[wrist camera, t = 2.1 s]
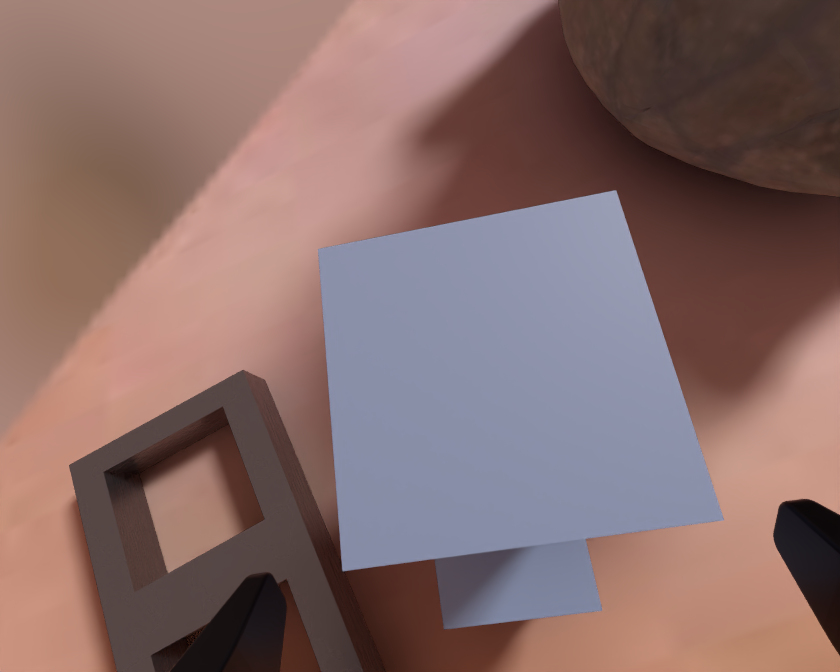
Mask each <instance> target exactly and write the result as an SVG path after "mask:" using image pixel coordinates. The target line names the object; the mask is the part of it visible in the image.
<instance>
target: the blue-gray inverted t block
mask: <svg viewBox="0 0 840 672" xmlns="http://www.w3.org/2000/svg"><path fill="white" fill-rule="evenodd" d="M318 256H319V269H320V282H321V295H322V308H323V321H324V335H325V348H326V361H327V374H328V387H329V401H330V414H331V427H332V440H333V453H334V466H335V480H336V493H337V506H338V519H339V532H340V546H341V559H342V571H348V570H356V569H363V568H371V567H378V566H386V565H393V564H400V563H408V562H415V561H423V560H430V559H435V567H436V574H437V582H438V589H439V596H440V604H441V611H442V619H443V626H444V630H445V629H453V628H462V627H470V626H478V625H487V624H495V623H503V622H512V621H520V620H528V619H537V618H545V617H553V616H562V615H570V614H578V613H587V612H595V611H602V607H601V603H600V599H599V594H598V590H597V586H596V581H595V577H594V573H593V569H592V564H591V560H590V556H589V552H588V547H587V543H586V539H587V538H595V537H602V536H610V535H617V534H625V533H632V532H640V531H647V530H655V529H662V528H670V527H677V526H685V525H692V524H699V523H707V522H714V521H722V520H724V518H723V515H722V512H721V509H720V506H719V503H718V500H717V497H716V494H715V491H714V488H713V485H712V482H711V479H710V476H709V473H708V470H707V466H706V463H705V460H704V457H703V454H702V451H701V448H700V445H699V442H698V439H697V436H696V433H695V430H694V427H693V424H692V421H691V418H690V415H689V411H688V408H687V405H686V402H685V399H684V396H683V393H682V390H681V387H680V384H679V381H678V378H677V375H676V372H675V369H674V366H673V363H672V360H671V356H670V353H669V350H668V347H667V344H666V341H665V338H664V335H663V332H662V329H661V326H660V323H659V320H658V317H657V314H656V311H655V308H654V304H653V301H652V298H651V295H650V292H649V289H648V286H647V283H646V280H645V277H644V274H643V271H642V268H641V265H640V262H639V259H638V256H637V253H636V249H635V246H634V243H633V240H632V237H631V234H630V231H629V228H628V225H627V222H626V219H625V216H624V213H623V210H622V207H621V204H620V201H619V198H618V194H617V191H616V190H614V191H609V192H604V193H599V194H594V195H589V196H584V197H579V198H574V199H569V200H564V201H559V202H554V203H548V204H543V205H538V206H533V207H528V208H523V209H518V210H513V211H508V212H503V213H498V214H493V215H488V216H483V217H478V218H473V219H467V220H462V221H457V222H452V223H447V224H442V225H437V226H432V227H427V228H422V229H417V230H412V231H407V232H402V233H397V234H392V235H386V236H381V237H376V238H371V239H366V240H361V241H356V242H351V243H346V244H341V245H336V246H331V247H326V248H321V249H318Z"/></svg>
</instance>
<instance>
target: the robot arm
mask: <svg viewBox="0 0 840 672" xmlns="http://www.w3.org/2000/svg"><path fill="white" fill-rule="evenodd" d="M773 537H774V542H775V545H776V548H777V550H778V551H779V553H780V555H781V557H782V558H783V560H784V562H785V564H786V565H787V567H788V569H789V571H790V572H791V574H792V576H793V578H794V579H795V581H796V583H797V585H798V586H799V588H800V590H801V592H802V593H803V595H804V597H805V599H806V600H807V602H808V604H809V606H810V607H811V609H812V611H813V612H814V614H815V616H816V618H817V619H818V621H819V623H820V625H821V626H822V628H823V630H824V631H825V633H826V635H827V636H828V638H829V640H830V641H831V643H832V645H833V646H834V648H835V649H836V651H837V652H838V654H839V655H840V515H839V514H837V513H835V512H833V511H832V510H830V509H828V508H826V507H824V506H822V505H821V504H819V503H817V502H815V501H812V500H809V499H799V500H792V501H785V502H783V503H781V504H780V506H779V509H778V514H777V518H776V523H775V528H774V533H773ZM286 611H287V606H286V600H285V597H284V595H283V593H282V591H281V589H280V587H279V586H278V584H277V582H276V580H275V578H274V576H273V575H272V574H271V573H269V572H263V573H256V574H251V575H249V576H247V577H246V578H245V579H244V580H243V581H242V583H241V584H240V585H239V586H238V588H237V589H236V590H235V591H234V592H233V594H232V595H231V596H230V597H229V599H228V600H227V601H226V602H225V604H224V605H223V606H222V607H221V608H220V610H219V611H218V612H217V613H216V615H215V616H214V617H213V618H212V620H211V621H210V622H209V623H208V624H207V626H206V627H205V628H204V629H203V631H202V632H201V633H200V634H199V636H198V637H197V638H196V639H195V641H194V642H193V643H192V644H191V645H190V647H189V648H188V649H187V650H186V652H185V653H184V654H183V655H182V657H181V658H180V659H179V660H178V661H177V663H176V664H175V665H174V666H173V668H172V669H171V670H170V671H169V672H280V664H281V656H282V647H283V638H284V629H285V621H286Z"/></svg>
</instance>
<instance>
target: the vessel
mask: <svg viewBox="0 0 840 672" xmlns="http://www.w3.org/2000/svg"><path fill="white" fill-rule="evenodd" d="M558 4H559V10H560V16H561V22H562V29H563V35H564V38H565V41H566V44H567V47H568V49H569V52H570V55H571V57H572V60H573V62H574V64H575V66H576V67H577V69H578V71H579V72H580V74H581V76H582V77H583V79H584V81H585V82H586V84H587V86H588V87H589V88H590V89H591V90H592V91H593V92H594V93H595V95H596V96H597V98H598V99H599V101H600V102H601V104H602V105H603V106H604V107H605V108H606V109H607V110H608V111H609V112H610V113H611V114H612V115H613V116H614V117H615V118H616V119H617V120H618V121H619V122H620V123H621V124H622V125H623V126H624V127H625V128H626V129H627V130H629V131H630V132H631V133H632V134H633V135H634V136H635V137H636V138H638V139H639V140H641V141H642V142H644V143H645V144H647V145H649V146H651V147H653V148H655V149H657V150H660V151H662V152H664V153H666V154H668V155H671V156H673V157H675V158H677V159H679V160H681V161H684V162H686V163H688V164H691V165H693V166H696V167H699V168H702V169H705V170H708V171H711V172H715V173H718V174H721V175H725V176H728V177H731V178H734V179H738V180H741V181H744V182H747V183H750V184H754V185H757V186H760V187H766V188H772V189H778V190H784V191H789V192H798V193H808V194H819V195H830V196H838V197H840V0H558Z"/></svg>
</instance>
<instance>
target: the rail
mask: <svg viewBox="0 0 840 672" xmlns="http://www.w3.org/2000/svg"><path fill="white" fill-rule="evenodd" d="M227 424H230V427H231V430H232V432H233V435H234V438H235V441H236V443H237V446H238V449H239V451H240V454H241V457H242V459H243V462H244V465H245V468H246V470H247V473H248V476H249V478H250V481H251V484H252V486H253V489H254V492H255V494H256V497H257V500H258V503H259V505H260V508H261V511H262V513H263V516H264V519H265V520H263V521H261V522H259V523H257V524H256V525H254V526H252V527H250V528H249V529H247V530H245V531H243V532H241V533H240V534H238V535H236V536H234V537H232V538H231V539H229V540H227V541H225V542H224V543H222V544H220V545H218V546H216V547H215V548H213V549H211V550H209V551H207V552H206V553H204V554H202V555H200V556H198V557H197V558H195V559H193V560H191V561H190V562H188V563H186V564H184V565H182V566H181V567H179V568H177V569H175V570H173V571H172V572H170V573H167V570H166V566H165V563H164V559H163V556H162V552H161V549H160V546H159V542H158V539H157V535H156V532H155V528H154V525H153V521H152V518H151V514H150V511H149V507H148V504H147V500H146V497H145V493H144V490H143V486H142V483H141V479H140V476H139V473H140V472H142V471H144V470H145V469H147V468H149V467H151V466H153V465H155V464H156V463H158V462H160V461H162V460H164V459H165V458H167V457H169V456H171V455H173V454H174V453H176V452H178V451H180V450H182V449H184V448H185V447H187V446H189V445H191V444H193V443H194V442H196V441H198V440H200V439H202V438H203V437H205V436H207V435H209V434H211V433H213V432H214V431H216V430H218V429H220V428H222V427H223V426H225V425H227ZM69 467H70V472H71V476H72V480H73V485H74V489H75V493H76V497H77V502H78V506H79V510H80V515H81V519H82V523H83V527H84V532H85V536H86V540H87V545H88V549H89V553H90V557H91V562H92V566H93V570H94V575H95V579H96V583H97V588H98V592H99V596H100V600H101V605H102V609H103V613H104V618H105V622H106V626H107V630H108V635H109V639H110V643H111V648H112V652H113V656H114V660H115V665H116V669H117V672H169V671H170V670H171V669H172V668H173V666H174V665H175V664H176V663H177V661H178V660H179V659H180V658H181V657H182V655H183V654H184V653H185V652H186V650H187V649H188V648H189V647H188V643H187V640H186V637H188V636H189V635H191V634H193V633H195V632H197V631H198V630H200V629H202V628H204V627H205V626H207V624H208V623H209V622H210V621H211V620H212V618H213V617H214V616H215V615H216V613H217V612H218V611H219V610H220V608H221V607H222V606H223V605H224V604H225V602H226V601H227V600H228V599H229V597H230V596H231V595H232V594H233V592H234V591H235V590H236V589H237V588H238V586H239V585H240V584H241V583H242V581H243V580H244V579H245V578H246V577H247V576H249V575H251V574H256V573H263V572H269V573H271V574H272V575H273V576H274V578H275V580H276V582H277V584H278V585H280V584H282V583H283V582H285V581H288V583H289V586H290V589H291V592H292V594H293V597H294V600H295V602H296V605H297V608H298V610H299V613H300V616H301V619H302V621H303V624H304V627H305V629H306V632H307V635H308V637H309V640H310V643H311V646H312V648H313V651H314V654H315V656H316V659H317V662H318V664H319V667H320V670H321V672H386V671H385V669H384V666H383V664H382V661H381V659H380V657H379V654H378V652H377V649H376V647H375V644H374V642H373V640H372V637H371V635H370V632H369V630H368V628H367V625H366V623H365V620H364V618H363V616H362V613H361V611H360V608H359V606H358V603H357V601H356V599H355V596H354V594H353V591H352V589H351V587H350V584H349V582H348V579H347V577H346V575H345V572H344V571H342V565H341V562H340V560H339V558H338V555H337V553H336V550H335V548H334V546H333V543H332V541H331V538H330V536H329V533H328V531H327V529H326V526H325V524H324V521H323V519H322V517H321V514H320V512H319V509H318V507H317V505H316V502H315V500H314V497H313V495H312V492H311V490H310V488H309V485H308V483H307V480H306V478H305V476H304V473H303V471H302V468H301V466H300V464H299V461H298V459H297V456H296V454H295V451H294V449H293V447H292V444H291V442H290V439H289V437H288V435H287V432H286V430H285V427H284V425H283V422H282V420H281V418H280V415H279V413H278V410H277V408H276V406H275V403H274V401H273V398H272V396H271V394H270V391H269V389H268V386H267V384H266V381H265V380H264V379H262V378H259V377H257V376H255V375H253V374H251V373H249V372H247V371H244V370H242V371H240V372H238V373H236V374H234V375H232V376H231V377H229V378H227V379H225V380H223V381H222V382H220V383H218V384H216V385H214V386H212V387H211V388H209V389H207V390H205V391H203V392H201V393H200V394H198V395H196V396H194V397H192V398H191V399H189V400H187V401H185V402H183V403H181V404H180V405H178V406H176V407H174V408H172V409H170V410H169V411H167V412H165V413H163V414H161V415H160V416H158V417H156V418H154V419H152V420H150V421H149V422H147V423H145V424H143V425H141V426H139V427H138V428H136V429H134V430H132V431H130V432H129V433H127V434H125V435H123V436H121V437H119V438H118V439H116V440H114V441H112V442H110V443H108V444H107V445H105V446H103V447H101V448H99V449H98V450H96V451H94V452H92V453H90V454H88V455H87V456H85V457H83V458H81V459H79V460H77V461H76V462H74V463H72V464H70V465H69Z"/></svg>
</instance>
